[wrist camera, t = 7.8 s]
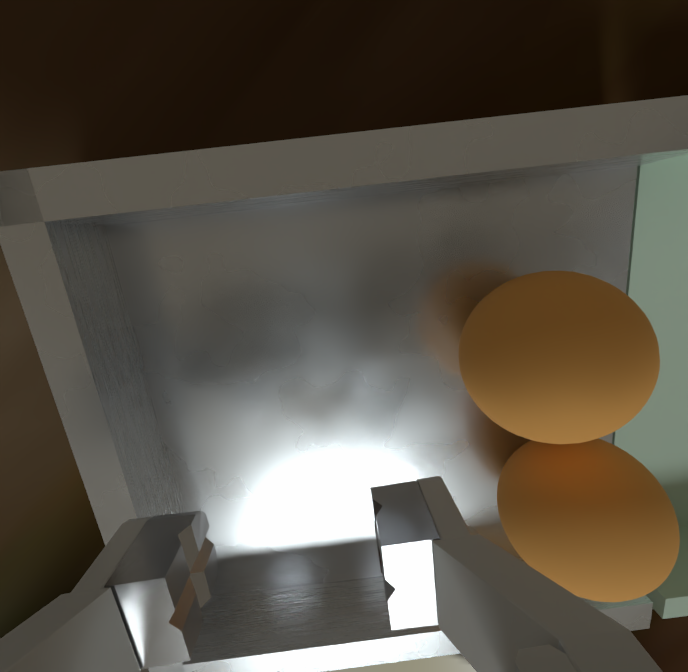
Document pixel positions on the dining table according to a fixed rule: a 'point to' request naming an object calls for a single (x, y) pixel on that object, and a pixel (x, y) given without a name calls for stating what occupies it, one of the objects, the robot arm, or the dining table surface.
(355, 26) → the dining table surface
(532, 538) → the ball
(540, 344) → the ball
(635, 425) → the tray
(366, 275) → the grey metal shallow bin
